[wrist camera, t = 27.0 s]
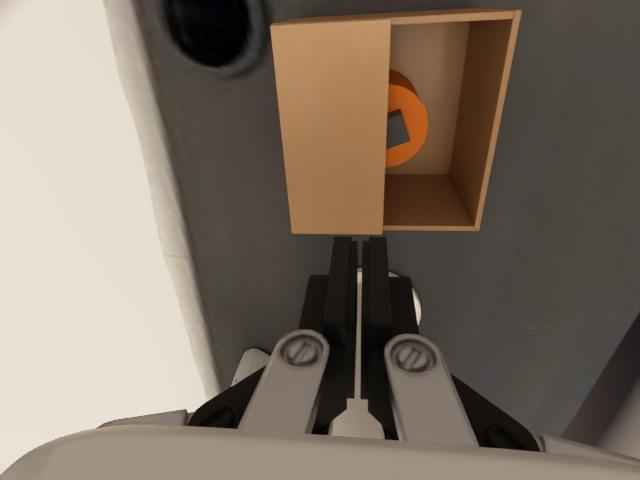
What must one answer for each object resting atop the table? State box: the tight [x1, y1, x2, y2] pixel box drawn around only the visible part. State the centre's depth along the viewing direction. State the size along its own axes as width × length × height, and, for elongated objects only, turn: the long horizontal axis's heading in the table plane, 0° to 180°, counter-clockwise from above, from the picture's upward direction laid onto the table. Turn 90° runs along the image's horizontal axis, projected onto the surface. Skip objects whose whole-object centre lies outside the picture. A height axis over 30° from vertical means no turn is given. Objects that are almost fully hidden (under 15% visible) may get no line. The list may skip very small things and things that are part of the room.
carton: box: [272, 8, 522, 231], centre depth 29 cm, size 14×14×10 cm
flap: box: [270, 19, 391, 234], centre depth 25 cm, size 14×7×1 cm, turn 3°
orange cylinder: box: [385, 70, 428, 168], centre depth 30 cm, size 6×6×9 cm
